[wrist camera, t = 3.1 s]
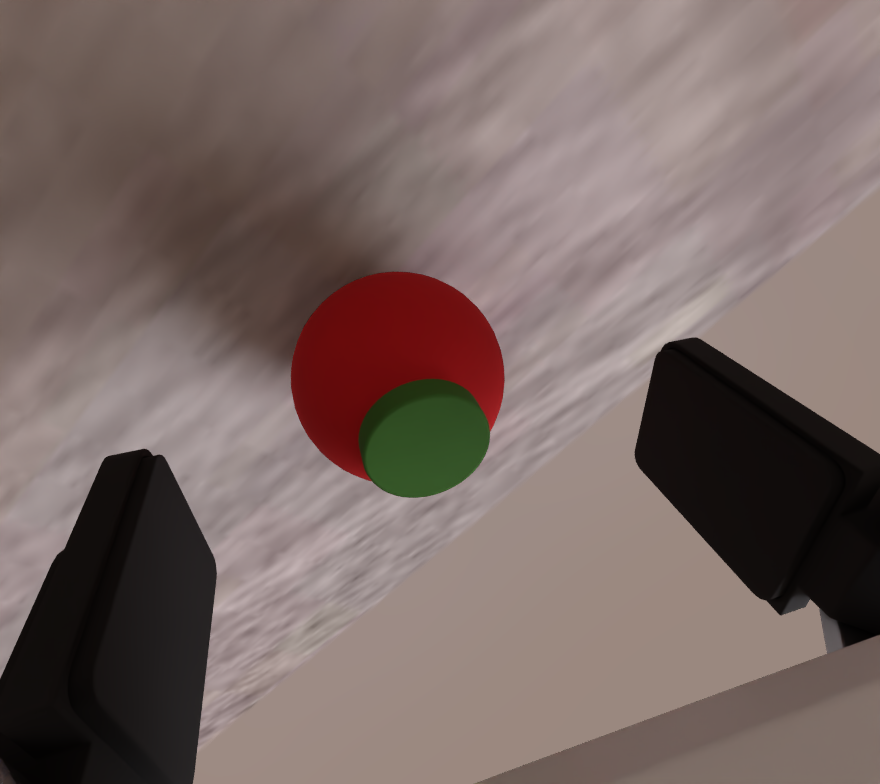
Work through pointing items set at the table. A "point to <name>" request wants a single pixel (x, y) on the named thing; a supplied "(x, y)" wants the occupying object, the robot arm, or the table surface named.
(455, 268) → the table surface
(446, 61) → the table surface
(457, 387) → the strawberry
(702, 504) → the robot arm
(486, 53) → the table surface
